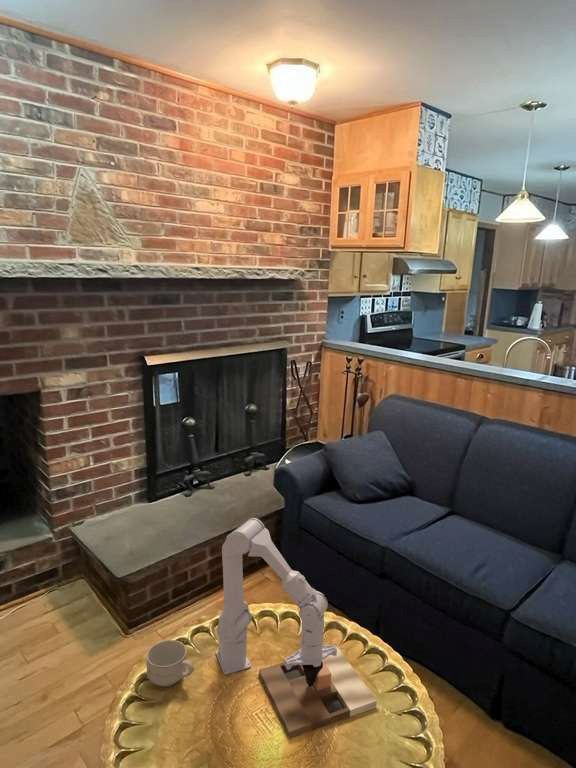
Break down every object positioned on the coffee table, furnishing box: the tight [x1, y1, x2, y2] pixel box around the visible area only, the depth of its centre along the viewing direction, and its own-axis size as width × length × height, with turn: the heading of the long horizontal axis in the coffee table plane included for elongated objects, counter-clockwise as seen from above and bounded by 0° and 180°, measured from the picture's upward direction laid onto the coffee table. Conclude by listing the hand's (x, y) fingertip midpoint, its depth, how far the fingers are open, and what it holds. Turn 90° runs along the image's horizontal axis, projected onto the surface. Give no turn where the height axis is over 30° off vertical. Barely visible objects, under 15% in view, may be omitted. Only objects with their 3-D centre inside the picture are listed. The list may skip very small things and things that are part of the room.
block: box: [314, 663, 331, 691], centre depth 133 cm, size 4×4×4 cm
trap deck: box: [258, 646, 378, 740], centre depth 133 cm, size 21×25×2 cm
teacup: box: [145, 639, 195, 687], centre depth 134 cm, size 14×11×8 cm
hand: (309, 683), depth 131 cm, fingers closed
